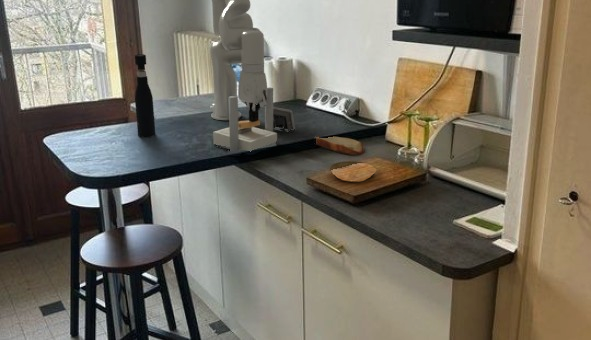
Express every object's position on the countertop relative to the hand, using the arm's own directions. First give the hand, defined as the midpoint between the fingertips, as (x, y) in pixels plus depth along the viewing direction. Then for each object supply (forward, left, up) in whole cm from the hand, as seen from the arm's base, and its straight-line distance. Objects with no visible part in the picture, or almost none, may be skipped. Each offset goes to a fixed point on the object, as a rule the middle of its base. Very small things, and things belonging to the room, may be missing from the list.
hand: (253, 120), depth 199 cm
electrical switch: (-6, +23, -10) cm, 26 cm away
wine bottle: (-41, -15, -10) cm, 45 cm away
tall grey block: (-1, +9, -10) cm, 14 cm away
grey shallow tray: (-4, 0, -10) cm, 11 cm away
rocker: (-4, 0, -2) cm, 5 cm away
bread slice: (+21, +21, -11) cm, 32 cm away
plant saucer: (+41, +1, -11) cm, 43 cm away
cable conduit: (-1, -9, -10) cm, 14 cm away
